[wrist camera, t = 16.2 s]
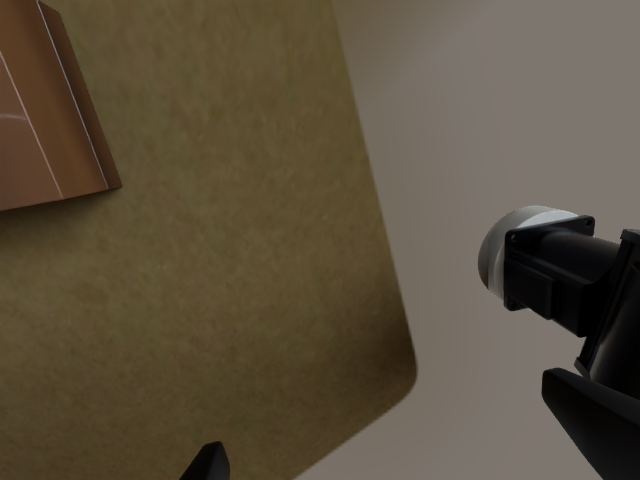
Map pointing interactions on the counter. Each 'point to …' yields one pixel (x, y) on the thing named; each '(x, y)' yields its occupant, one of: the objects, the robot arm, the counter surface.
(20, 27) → the stepped wooden block
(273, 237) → the counter surface
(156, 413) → the counter surface
